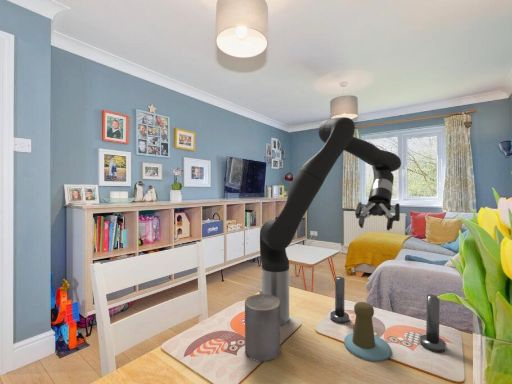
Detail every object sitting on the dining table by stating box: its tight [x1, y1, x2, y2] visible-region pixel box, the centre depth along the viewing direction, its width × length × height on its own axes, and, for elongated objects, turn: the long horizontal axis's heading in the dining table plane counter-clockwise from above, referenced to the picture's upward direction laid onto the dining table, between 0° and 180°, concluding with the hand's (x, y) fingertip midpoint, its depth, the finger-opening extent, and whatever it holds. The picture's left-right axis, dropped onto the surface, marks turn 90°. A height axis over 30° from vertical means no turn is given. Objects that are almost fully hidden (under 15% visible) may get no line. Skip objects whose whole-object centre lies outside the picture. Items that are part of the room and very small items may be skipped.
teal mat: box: [343, 332, 392, 362], centre depth 73 cm, size 12×12×1 cm
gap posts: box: [330, 276, 447, 354], centre depth 81 cm, size 32×6×14 cm, turn 55°
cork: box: [352, 301, 375, 349], centre depth 74 cm, size 6×6×11 cm
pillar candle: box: [244, 294, 281, 363], centre depth 71 cm, size 10×10×15 cm
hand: (374, 227), depth 90 cm, fingers open, 8 cm apart
